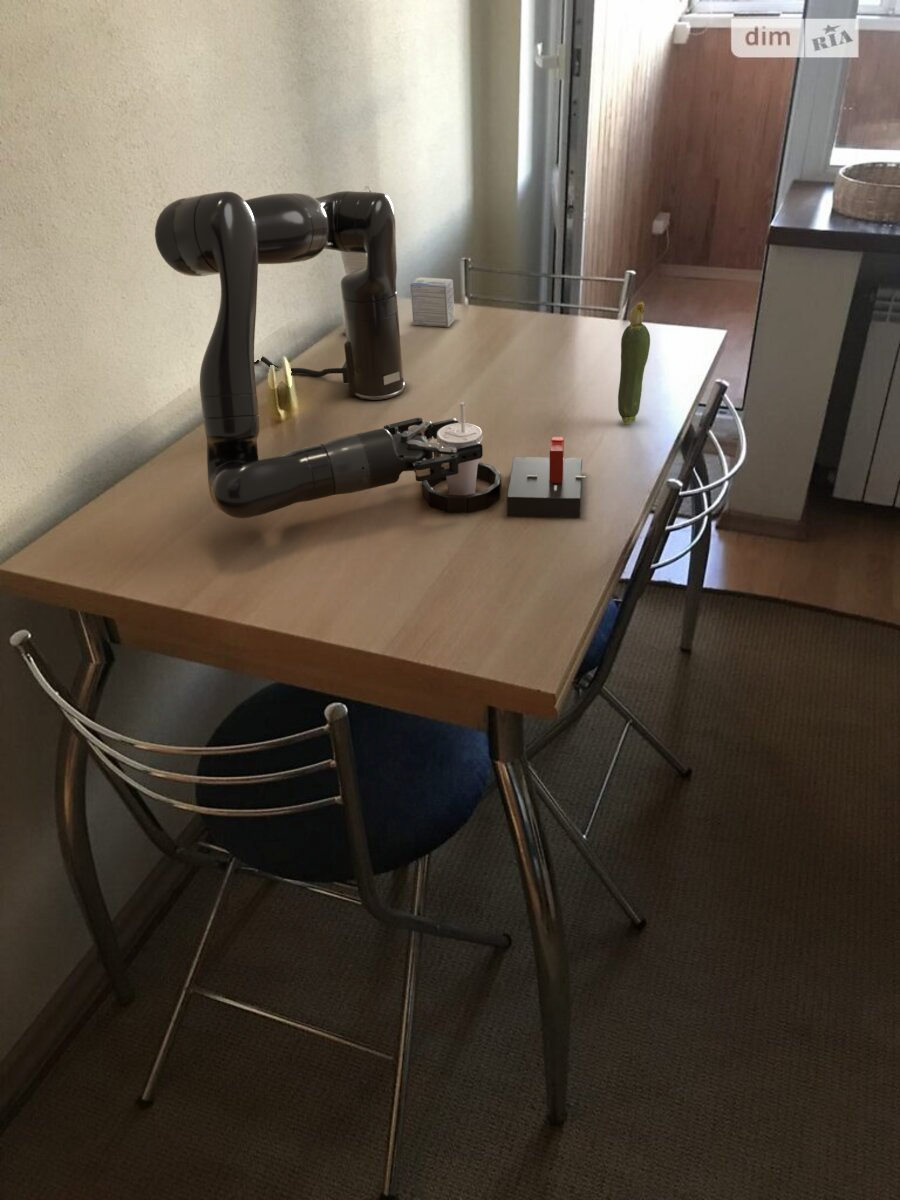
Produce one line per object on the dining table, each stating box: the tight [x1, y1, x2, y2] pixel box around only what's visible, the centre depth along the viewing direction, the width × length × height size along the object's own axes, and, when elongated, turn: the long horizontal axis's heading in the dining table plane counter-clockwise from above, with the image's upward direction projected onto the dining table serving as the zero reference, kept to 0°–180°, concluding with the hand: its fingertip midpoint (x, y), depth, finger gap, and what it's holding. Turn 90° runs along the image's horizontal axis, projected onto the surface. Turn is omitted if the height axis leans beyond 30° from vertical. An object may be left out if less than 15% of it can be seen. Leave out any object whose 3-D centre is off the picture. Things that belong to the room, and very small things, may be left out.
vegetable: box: [617, 300, 651, 426], centre depth 149 cm, size 4×4×20 cm
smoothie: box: [436, 401, 483, 495], centre depth 133 cm, size 6×6×14 cm
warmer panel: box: [506, 456, 587, 518], centre depth 135 cm, size 11×12×3 cm
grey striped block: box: [409, 277, 456, 328], centre depth 195 cm, size 8×4×9 cm, turn 71°
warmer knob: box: [549, 436, 565, 483], centre depth 132 cm, size 4×2×5 cm, turn 172°
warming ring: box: [420, 461, 503, 514], centre depth 137 cm, size 11×11×2 cm
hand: (469, 437), depth 133 cm, fingers open, 8 cm apart
